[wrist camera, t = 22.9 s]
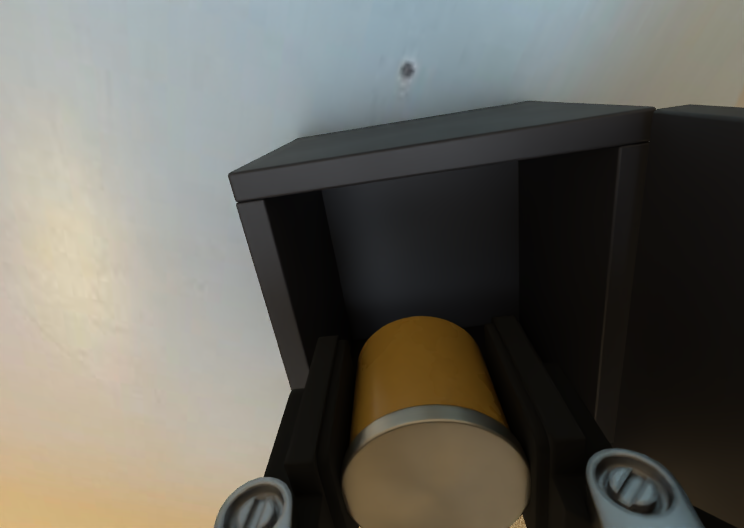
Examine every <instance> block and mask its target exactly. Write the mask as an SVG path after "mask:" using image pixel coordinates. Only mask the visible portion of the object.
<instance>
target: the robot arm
mask: <svg viewBox="0 0 744 528" xmlns="http://www.w3.org/2000/svg"><path fill="white" fill-rule="evenodd" d="M484 334H485V355H486V366H487V369H488V372H489V374H490V377H491V380H492V382H493V385H494V388H495V390H496V393H497V396H498V398H499V401H500V404H501V406H502V409H503V412H504V415H505V417H506V420H507V423H508V425H509V428H510V431H511V433H512V434H513V435H514V436H515V437H516V438H517V440H518V441H519V442H520V444H521V446H522V448H523V450H524V453H525V455H526V458H527V460H528V463H529V465H530V474H531V490H530V500H529V503H528V505H527V507H526V509H525V510H524V512H523V513H522V515H523V518H524V521H525V524H526V527H527V528H737V527H735V526H733V525H731V524H729V523H727V522H725V521H723V520H721V519H719V518H717V517H715V516H713V515H711V514H709V513H707V512H705V511H703V510H701V509H699V508H697V507H695V506H693V505H692V504H691V502H690V500H689V498H688V497H687V495H686V493H685V491H684V490H683V488H682V486H681V485H680V483H679V482H678V481H677V479H676V478H675V477H674V475H673V474H672V473H671V472H670V471H669V470H667V469H666V468H665V467H664V466H663V465H662V464H660V463H659V462H657V461H655V460H654V459H652V458H650V457H648V456H647V455H644V454H642V453H639V452H636V451H633V450H629V449H622V448H613V447H612V446H611V444H610V443H609V441H608V440H607V438H606V436H605V435H604V433H603V432H602V430H601V429H600V427H599V425H598V424H597V422H596V421H595V419H594V418H593V416H592V415H591V413H590V411H589V410H588V408H587V407H586V405H585V404H584V402H583V401H582V399H581V397H580V396H579V394H578V393H577V391H576V390H575V388H574V387H573V385H572V383H571V382H570V380H569V379H568V377H567V376H566V374H565V373H564V371H563V369H562V368H561V367H560V365H559V364H558V363H556V362H551V363H542V362H541V360H540V359H539V357H538V355H537V353H536V352H535V350H534V348H533V347H532V345H531V343H530V341H529V340H528V338H527V336H526V334H525V333H524V331H523V329H522V328H521V326H520V324H519V322H518V321H517V319H516V317H515V316H514V315H510V316H501V317H492V319H491V323H488V324H485V325H484ZM355 381H356V376H355V371H354V367H353V362H352V357H351V353H350V348H349V343H348V340H341V338H340V336H339V335H336V336H327V337H319V338H318V341H317V344H316V348H315V352H314V355H313V359H312V363H311V366H310V370H309V374H308V377H307V381H306V385H305V388H300V389H293V390H292V391H291V393H290V395H289V398H288V401H287V405H286V408H285V411H284V414H283V417H282V420H281V424H280V427H279V430H278V433H277V436H276V440H275V443H274V446H273V449H272V452H271V455H270V459H269V462H268V465H267V468H266V471H265V474H264V477H261V478H257V479H254V480H251V481H248V482H247V483H245V484H244V485H242V486H240V487H239V488H237V489H236V490H235V491H234V492H233V493H232V494H231V495H230V496H229V497H228V498H227V499H226V501H225V502H224V504H223V505H222V506H221V508H220V510H219V513H218V515H217V518H216V521H215V525H214V528H359V525H358V524H357V523H356V522H355V521H354V520H353V519H352V518H351V516H350V515H349V513H348V512H347V509H346V505H345V502H344V498H343V494H342V490H341V485H340V477H341V468H342V463H343V458H344V455H345V453H346V450H347V449H348V447H349V440H350V430H351V420H352V411H353V401H354V391H355Z"/></svg>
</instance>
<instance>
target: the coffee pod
mask: <svg viewBox="0 0 744 528" xmlns="http://www.w3.org/2000/svg"><path fill="white" fill-rule="evenodd" d="M340 485H341V490H342V494H343V498H344V502H345V505H346V509H347V512H348V513H349V515H350V516H351V518H352V519H353V520H354V521H355V522H356V523H357V524H358V525H359V526H360V527H361V528H509V527H510V526H511V525H512V524H513V523H514V522H515V521H516V520H517V519H518V518H519V517H520V516H521V515H522V513H523V512H524V510H525V509H526V507H527V505H528V503H529V500H530V490H531V474H530V465H529V463H528V460H527V458H526V455H525V453H524V450H523V448H522V446H521V444H520V442H519V441H518V440H517V438H516V437H515V436H514V435H513V434H512V433H511V431H510V428H509V425H508V423H507V420H506V417H505V415H504V412H503V409H502V406H501V404H500V401H499V398H498V396H497V393H496V390H495V388H494V385H493V382H492V380H491V377H490V374H489V372H488V369H487V366H486V364H485V361H484V358H483V356H482V353H481V350H480V348H479V346H478V344H477V343H476V341H475V340H474V339H473V337H472V336H471V335H470V334H469V333H468V332H466V331H465V330H464V329H463V328H461V327H459V326H458V325H456V324H454V323H452V322H450V321H447V320H444V319H441V318H437V317H431V316H412V317H407V318H402V319H399V320H396V321H393V322H391V323H389V324H387V325H385V326H383V327H382V328H380V329H379V330H378V331H376V332H375V333H374V334H373V335H372V336H371V337H370V338H369V339H368V340H367V342H366V343H365V344H364V346H363V348H362V350H361V352H360V355H359V357H358V362H357V371H356V381H355V391H354V401H353V411H352V420H351V430H350V440H349V447H348V449H347V450H346V453H345V455H344V458H343V463H342V468H341V477H340Z"/></svg>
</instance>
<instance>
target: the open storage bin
mask: <svg viewBox="0 0 744 528" xmlns="http://www.w3.org/2000/svg"><path fill="white" fill-rule="evenodd" d="M655 110H656V108H655V107H649V106H627V105H605V104H584V103H562V102H541V101H525V102H519V103H513V104H507V105H501V106H494V107H488V108H482V109H476V110H470V111H463V112H457V113H451V114H445V115H439V116H433V117H426V118H420V119H414V120H408V121H402V122H395V123H389V124H383V125H377V126H371V127H365V128H358V129H352V130H346V131H340V132H334V133H327V134H321V135H315V136H309V137H303V138H297V139H295V140H294V141H292V142H290V143H288V144H286V145H284V146H282V147H280V148H278V149H276V150H274V151H272V152H270V153H268V154H266V155H264V156H262V157H260V158H258V159H256V160H254V161H252V162H250V163H248V164H246V165H244V166H242V167H240V168H238V169H236V170H234V171H232V172H231V173H229V174H228V177H229V181H230V184H231V188H232V191H233V194H234V198H235V200H236V202H238V203H237V204H236V206H237V209H238V213H239V216H240V219H241V223H242V226H243V229H244V233H245V236H246V240H247V243H248V246H249V250H250V253H251V256H252V260H253V263H254V266H255V270H256V273H257V276H258V280H259V283H260V286H261V290H262V293H263V297H264V300H265V303H266V307H267V310H268V313H269V317H270V320H271V323H272V327H273V330H274V333H275V337H276V340H277V343H278V347H279V350H280V354H281V357H282V360H283V364H284V367H285V370H286V374H287V377H288V380H289V384H290V387H291V390H293V389H300V388H305V385H306V381H307V377H308V374H309V370H310V366H311V363H312V359H313V355H314V352H315V348H316V344H317V341H318V338H319V337H327V336H336V335H339V336H340V338H341V340H348V343H349V348H350V353H351V357H352V362H353V367H354V371H355V376H356V371H357V362H358V357H359V355H360V352H361V350H362V348H363V346H364V344H365V343H366V342H367V340H368V339H369V338H370V337H371V336H372V335H373V334H374V333H375V332H376V331H378V330H379V329H380V328H382V327H383V326H385V325H387V324H389V323H391V322H393V321H396V320H399V319H402V318H407V317H412V316H431V317H437V318H441V319H444V320H447V321H450V322H452V323H454V324H456V325H458V326H459V327H461V328H463V329H464V330H465V331H466V332H468V333H469V334H470V335H471V336H472V337H473V339H474V340H475V341H476V343H477V344H478V346H479V348H480V350H481V353H482V356H483V358H484V361H485V364H486V355H485V334H484V325H485V324H488V323H491V319H492V317H501V316H510V315H514V316H515V317H516V319H517V321H518V322H519V324H520V326H521V328H522V329H523V331H524V333H525V334H526V336H527V338H528V340H529V341H530V343H531V345H532V347H533V348H534V350H535V352H536V353H537V355H538V357H539V359H540V360H541V362H542V363H551V362H556V363H558V364H559V365H560V367H561V368H562V369H563V371H564V373H565V374H566V376H567V377H568V379H569V380H570V382H571V383H572V385H573V387H574V388H575V390H576V391H577V393H578V394H579V396H580V397H581V399H582V401H583V402H584V404H585V405H586V407H587V408H588V410H589V411H590V413H591V415H592V416H593V418H594V419H595V421H596V422H597V424H598V425H599V427H600V429H601V430H602V432H603V433H604V435H605V436H606V438H607V440H608V441H609V443H610V444H611V446H612V447H613V443H614V434H615V426H616V418H617V409H618V401H619V393H620V384H621V376H622V368H623V359H624V351H625V343H626V334H627V326H628V318H629V309H630V301H631V293H632V284H633V276H634V268H635V259H636V251H637V243H638V234H639V226H640V217H641V209H642V201H643V192H644V184H645V176H646V167H647V159H648V151H649V141H650V134H651V126H652V117H653V112H654V111H655Z"/></svg>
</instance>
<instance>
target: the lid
mask: <svg viewBox="0 0 744 528" xmlns="http://www.w3.org/2000/svg"><path fill="white" fill-rule="evenodd" d="M613 448H622V449H629V450H633V451H636V452H639V453H642V454H644V455H647V456H648V457H650V458H652V459H654V460H655V461H657V462H659V463H660V464H662V465H663V466H664V467H665V468H666V469H667V470H669V471H670V472H671V473H672V474H673V475H674V477H675V478H676V479H677V481H678V482H679V483H680V485H681V486H682V488H683V490H684V491H685V493H686V495H687V497H688V498H689V500H690V502H691V504H692V505H693V506H695V507H697V508H699V509H701V510H703V511H705V512H707V513H709V514H711V515H713V516H715V517H717V518H719V519H721V520H723V521H725V522H727V523H729V524H731V525H733V526H735V527H737V528H744V108H739V107H723V106H706V105H683V106H676V107H669V108H662V109H657V110H655V111H654V112H653V117H652V126H651V134H650V142H649V151H648V159H647V167H646V176H645V184H644V192H643V201H642V209H641V217H640V226H639V234H638V243H637V251H636V259H635V268H634V276H633V284H632V293H631V301H630V309H629V318H628V326H627V334H626V343H625V351H624V359H623V368H622V376H621V384H620V393H619V401H618V409H617V418H616V426H615V434H614V443H613Z"/></svg>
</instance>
